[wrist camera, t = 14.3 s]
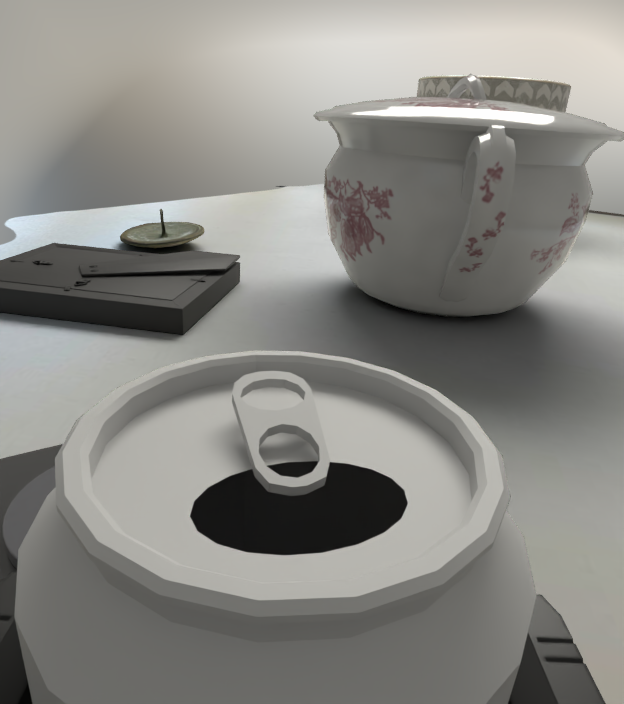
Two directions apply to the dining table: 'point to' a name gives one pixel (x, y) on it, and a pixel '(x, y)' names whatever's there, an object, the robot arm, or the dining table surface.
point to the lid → (161, 234)
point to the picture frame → (116, 286)
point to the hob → (22, 499)
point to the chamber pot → (457, 198)
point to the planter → (503, 90)
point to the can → (274, 544)
